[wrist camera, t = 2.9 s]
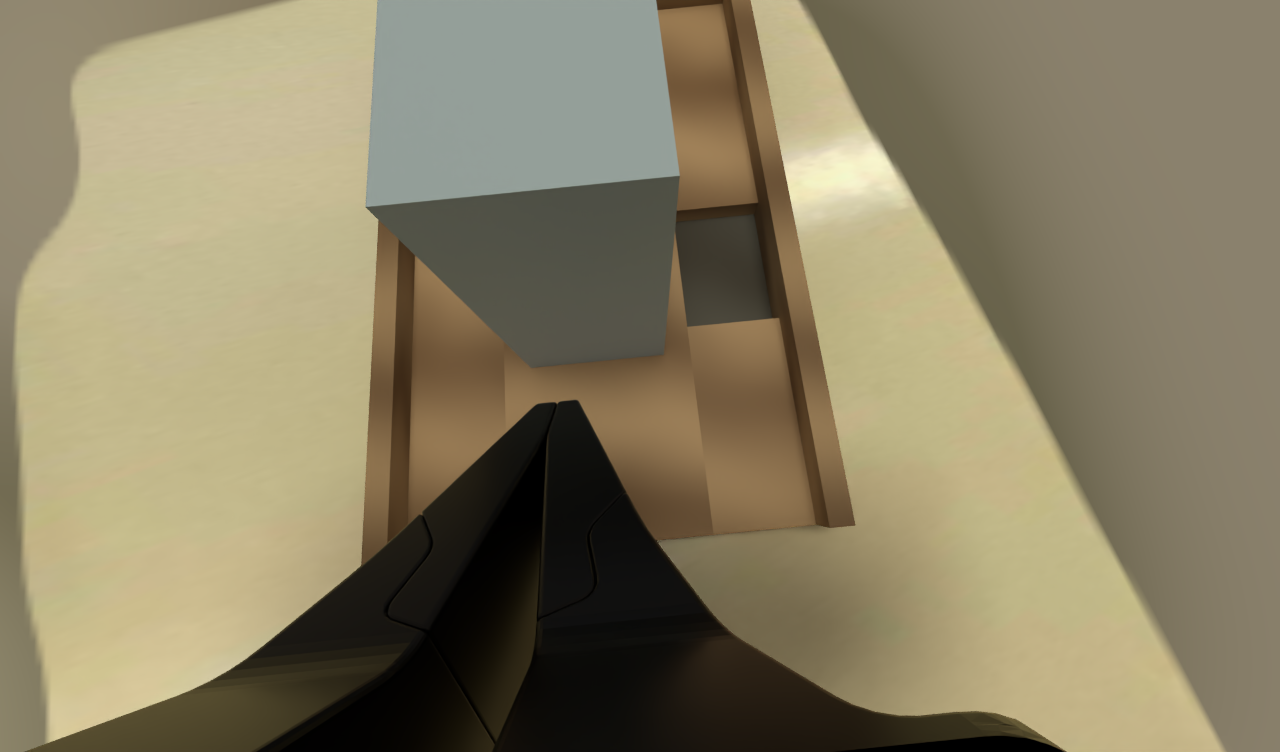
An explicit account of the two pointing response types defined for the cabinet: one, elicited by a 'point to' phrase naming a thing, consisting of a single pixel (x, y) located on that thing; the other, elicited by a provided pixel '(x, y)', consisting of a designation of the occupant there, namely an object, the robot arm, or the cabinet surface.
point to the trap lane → (653, 385)
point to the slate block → (532, 166)
